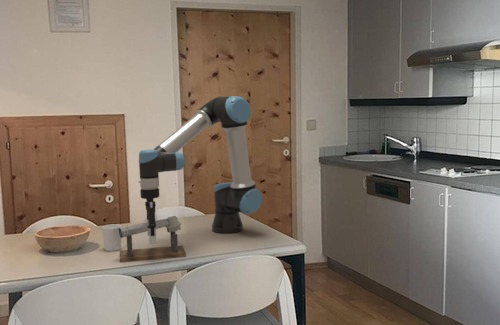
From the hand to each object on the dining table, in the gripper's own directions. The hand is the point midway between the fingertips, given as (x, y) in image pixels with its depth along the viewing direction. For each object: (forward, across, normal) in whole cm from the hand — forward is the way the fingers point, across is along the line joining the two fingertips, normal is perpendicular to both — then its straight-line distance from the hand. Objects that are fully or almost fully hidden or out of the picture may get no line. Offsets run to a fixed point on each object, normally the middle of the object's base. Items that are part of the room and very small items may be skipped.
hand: (151, 239), depth 225 cm
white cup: (+7, -15, -16) cm, 23 cm away
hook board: (+7, 0, 0) cm, 7 cm away
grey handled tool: (-2, 0, 0) cm, 2 cm away
